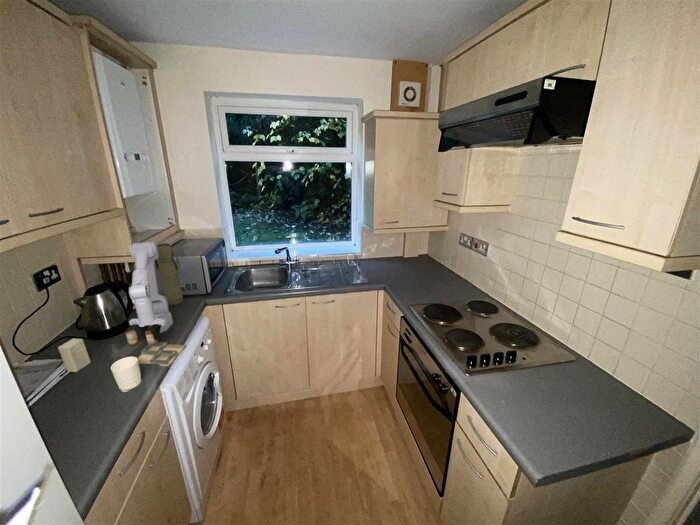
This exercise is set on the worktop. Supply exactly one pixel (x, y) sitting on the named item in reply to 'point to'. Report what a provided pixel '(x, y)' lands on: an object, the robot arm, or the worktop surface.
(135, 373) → the white cup
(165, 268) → the thermos
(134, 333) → the sleeve band down
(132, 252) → the robot arm
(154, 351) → the socket board
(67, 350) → the skincare box
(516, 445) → the worktop surface
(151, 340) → the sleeve band up
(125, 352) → the pad
